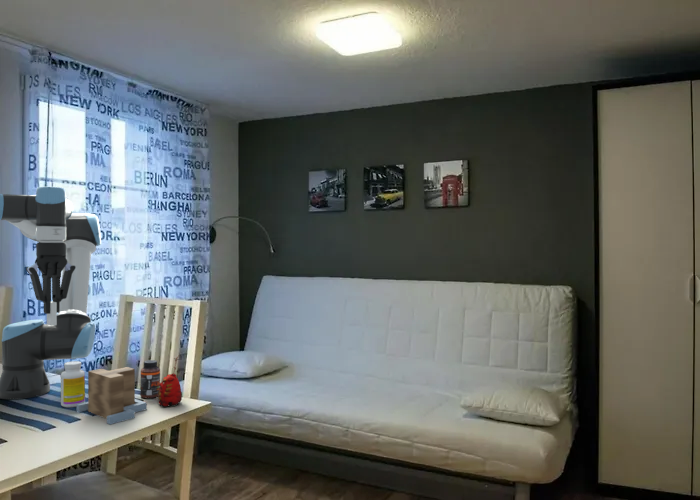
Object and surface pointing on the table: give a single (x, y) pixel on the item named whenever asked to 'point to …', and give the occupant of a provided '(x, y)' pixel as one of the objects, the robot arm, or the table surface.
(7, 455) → the table surface
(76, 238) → the robot arm
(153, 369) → the supplement bottle
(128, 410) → the tee dock
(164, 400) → the red clay folk toy
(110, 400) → the tee block
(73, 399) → the supplement bottle
